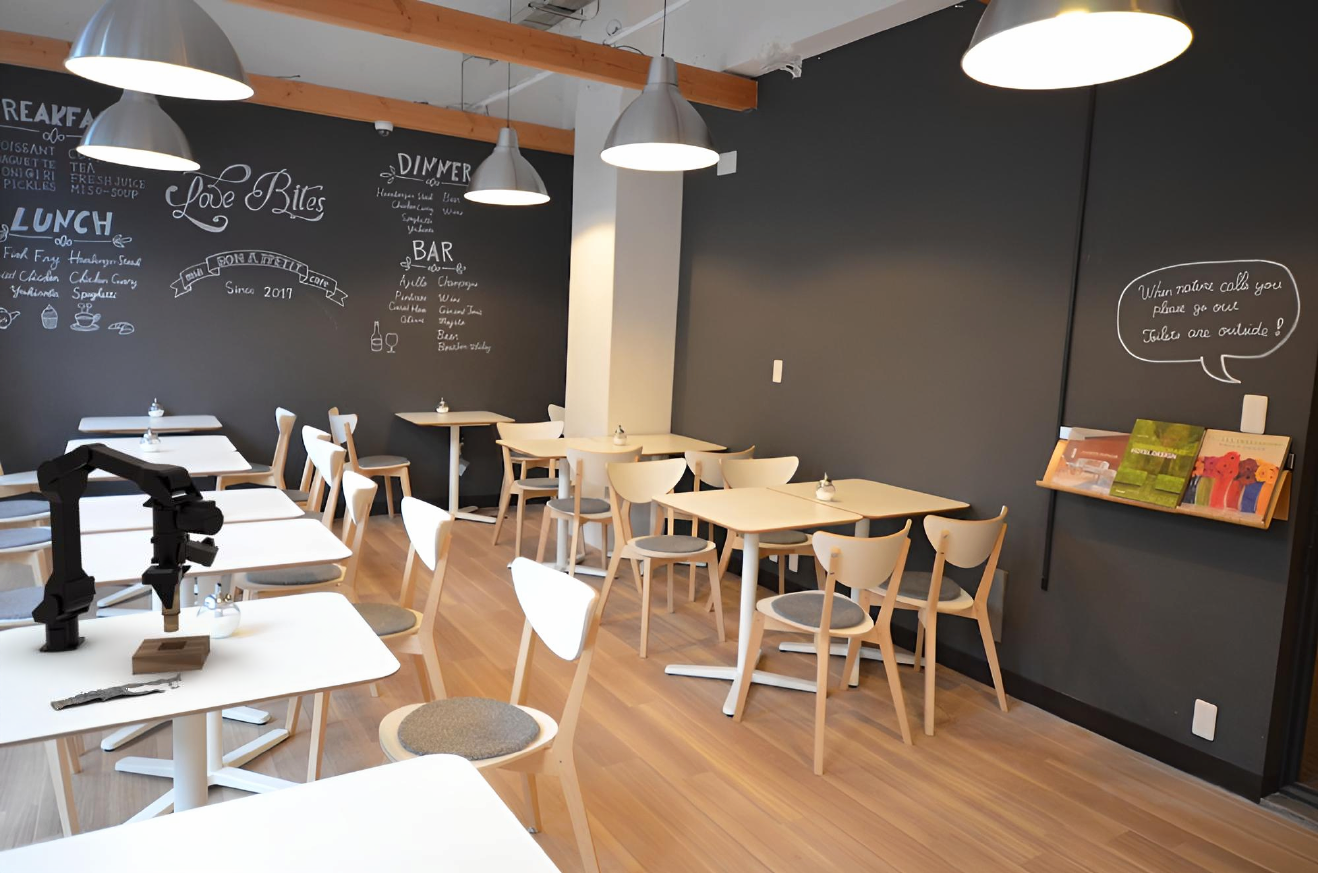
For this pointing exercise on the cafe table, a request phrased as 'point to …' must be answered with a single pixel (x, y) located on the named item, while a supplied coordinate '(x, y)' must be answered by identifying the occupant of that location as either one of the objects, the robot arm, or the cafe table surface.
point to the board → (171, 654)
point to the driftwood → (114, 692)
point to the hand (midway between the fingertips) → (171, 606)
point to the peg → (172, 613)
